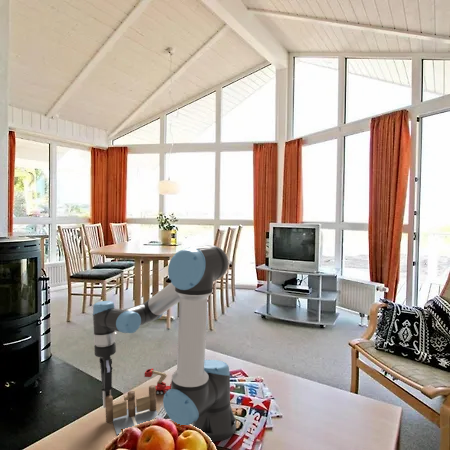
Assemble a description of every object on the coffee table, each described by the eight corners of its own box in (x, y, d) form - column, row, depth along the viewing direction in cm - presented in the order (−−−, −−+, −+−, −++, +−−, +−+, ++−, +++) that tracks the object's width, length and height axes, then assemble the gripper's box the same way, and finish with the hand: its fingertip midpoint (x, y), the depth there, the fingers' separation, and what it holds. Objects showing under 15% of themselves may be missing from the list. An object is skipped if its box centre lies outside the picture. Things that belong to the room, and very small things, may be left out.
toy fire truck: (176, 394, 146) (175, 372, 146) (144, 394, 148) (144, 371, 148) (178, 390, 150) (177, 368, 150) (147, 390, 151) (146, 368, 151)
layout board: (162, 422, 127) (162, 421, 127) (117, 435, 120) (116, 434, 120) (151, 403, 140) (151, 402, 140) (110, 414, 133) (110, 413, 133)
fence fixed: (157, 411, 134) (156, 387, 134) (129, 418, 130) (128, 394, 129) (155, 407, 137) (154, 384, 136) (127, 415, 132) (126, 391, 132)
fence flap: (136, 415, 131) (135, 392, 131) (106, 423, 126) (105, 399, 126) (134, 411, 133) (133, 389, 133) (105, 419, 128) (104, 396, 128)
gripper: (118, 346, 127) (121, 411, 127) (112, 336, 138) (114, 395, 139) (96, 351, 123) (99, 417, 123) (92, 340, 135) (94, 400, 135)
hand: (107, 405), depth 131 cm, fingers closed
